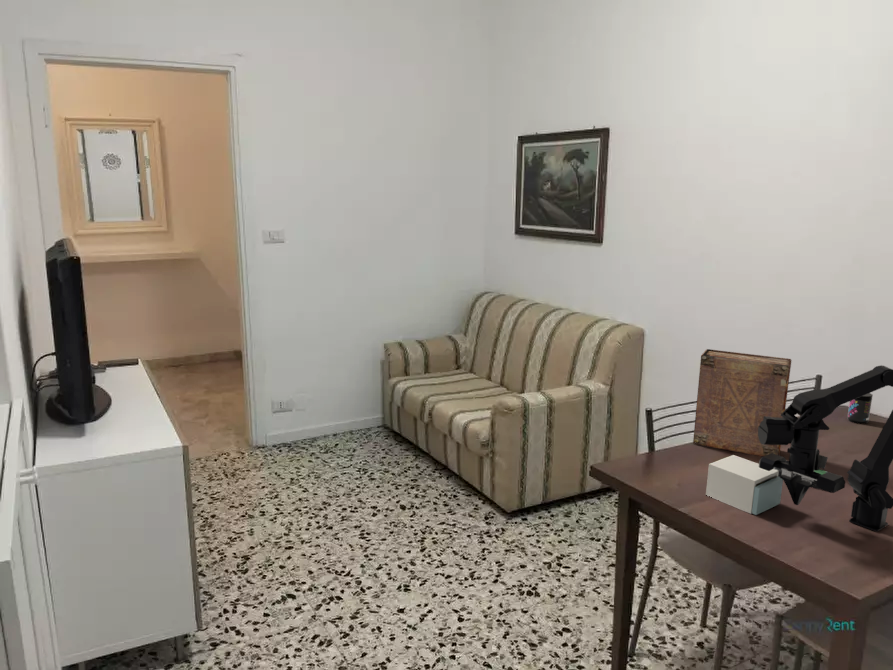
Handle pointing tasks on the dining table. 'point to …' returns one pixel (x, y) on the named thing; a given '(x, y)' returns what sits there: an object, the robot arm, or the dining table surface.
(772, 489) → the tray
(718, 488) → the panel
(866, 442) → the dining table surface
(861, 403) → the supplement container
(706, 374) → the book
